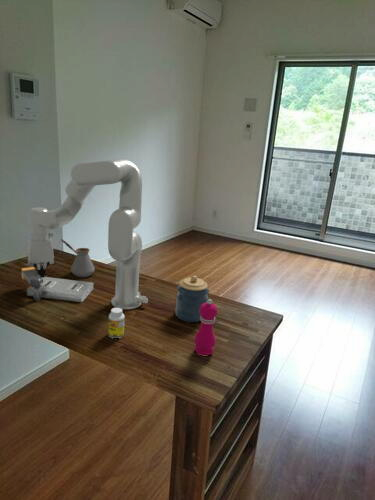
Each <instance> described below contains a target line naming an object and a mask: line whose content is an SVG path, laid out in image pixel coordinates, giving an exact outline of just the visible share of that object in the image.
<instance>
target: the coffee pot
mask: <svg viewBox="0 0 375 500" xmlns="http://www.w3.org/2000/svg"><path fill="white" fill-rule="evenodd" d="M59 243H63V244H65V246H67V247H68V248H69V249H70V250H71V251H73V252H74V253H75V254H76V256H75V259H74V260H73V263H72V265H71V267H70V272H71V273H72V274H73V275H74V276H75V277H77V278H87V277H88V278H89V277H90V276H91V275H92V274H93V273H95V269H96V268H95V266H94V264H93V262H92V259H91V257H90V254H89V252H90V249H89V247H88V248H87V247H80V248H79V247H78V248H76V249H74V248H73V246H71V245H70V244H69V243H68V242H66V241H65V240H64V239H62V238H61V239H60V240H59Z"/></svg>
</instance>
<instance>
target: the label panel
mask: <svg viewBox="0 0 375 500" xmlns="http://www.w3.org/2000/svg"><path fill="white" fill-rule="evenodd" d="M42 279H43V283H42V286H41V287H40V298H46V299H55V300H64V301H70V302H71V301H72V302H76V303H77V302H78V303H82V302H84V301H85V299H86V298H87V297H88V296H89V295H90V294H91V292H92V291H93V290H94V282H92V281H91V282H90V281H83V280H82V281H81V280H73V279H65V278H57V277H50V276H49V277H48V276H44V278H42ZM26 293H27V294H26V295H27V296H30V297H34V287H32V286H31V285H29V287H27V288H26Z"/></svg>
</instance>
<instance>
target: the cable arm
mask: <svg viewBox="0 0 375 500" xmlns="http://www.w3.org/2000/svg"><path fill="white" fill-rule="evenodd" d="M20 271H21V279H23V280H26V281H27V282H28V284H29V286H32V287H34V288H38V287H41V286H42V283H43V279H42V278H41V277H40V275H39V274H38V270H36V267H34V266H29V267H24V268H23V267H22V268H21V270H20Z"/></svg>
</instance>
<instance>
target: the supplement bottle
mask: <svg viewBox="0 0 375 500" xmlns="http://www.w3.org/2000/svg"><path fill="white" fill-rule="evenodd" d="M107 325H108V328H107V332H108V333H107V334H108V337H109V338H110V337H111V339H113V338H119V339H122V338H123V337H124V335H125V314H124V313H123V309H121V308H116V307H113V308H111V310H110V313H109V315H108V324H107ZM122 336H123V337H122Z"/></svg>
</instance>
